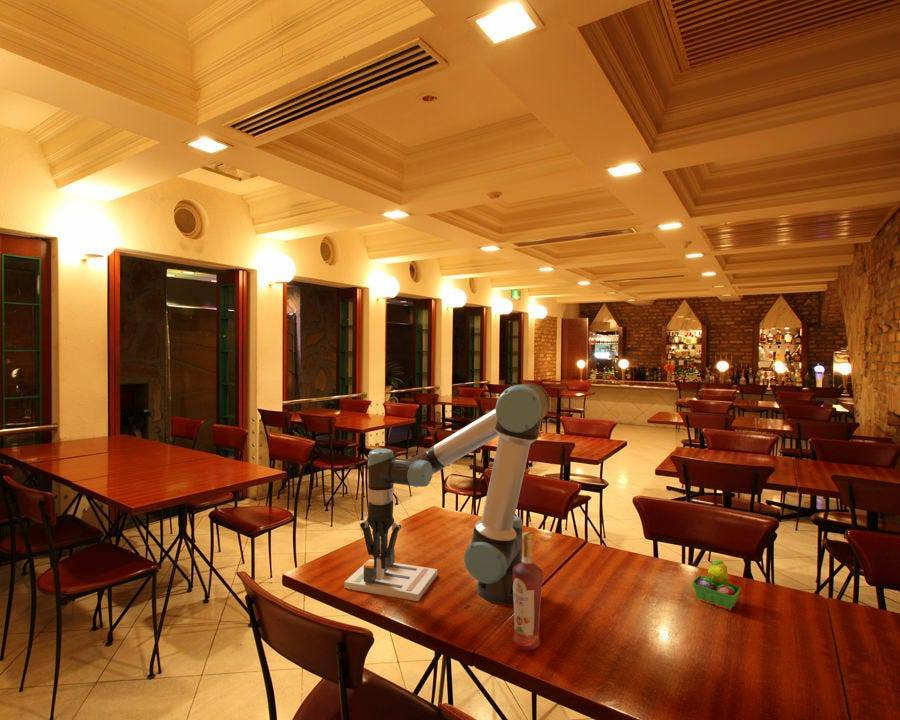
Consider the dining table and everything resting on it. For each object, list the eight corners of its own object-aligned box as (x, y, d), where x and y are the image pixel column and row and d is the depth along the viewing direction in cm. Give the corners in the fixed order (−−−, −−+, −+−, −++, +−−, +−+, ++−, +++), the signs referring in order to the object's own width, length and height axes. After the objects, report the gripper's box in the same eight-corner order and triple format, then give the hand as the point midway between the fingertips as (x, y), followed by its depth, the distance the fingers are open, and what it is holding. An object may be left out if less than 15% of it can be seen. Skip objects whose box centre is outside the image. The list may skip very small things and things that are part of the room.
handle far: (394, 562, 162) (394, 549, 162) (390, 566, 159) (390, 552, 159) (386, 561, 163) (386, 548, 163) (382, 565, 160) (382, 551, 160)
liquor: (547, 646, 122) (548, 534, 121) (529, 658, 116) (531, 542, 116) (523, 633, 127) (524, 526, 126) (505, 645, 122) (506, 533, 121)
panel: (437, 575, 159) (437, 568, 159) (418, 601, 142) (418, 593, 142) (369, 564, 166) (369, 558, 166) (344, 588, 149) (344, 581, 149)
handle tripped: (377, 578, 151) (377, 562, 150) (372, 583, 148) (372, 566, 148) (368, 577, 151) (368, 560, 151) (363, 581, 149) (363, 565, 148)
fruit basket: (690, 599, 145) (691, 562, 145) (700, 589, 151) (701, 553, 151) (733, 614, 137) (734, 574, 137) (742, 603, 143) (743, 565, 143)
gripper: (405, 499, 150) (404, 575, 150) (367, 495, 153) (366, 569, 154) (395, 507, 142) (394, 587, 143) (355, 502, 146) (355, 580, 147)
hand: (380, 578), depth 149 cm, fingers closed
